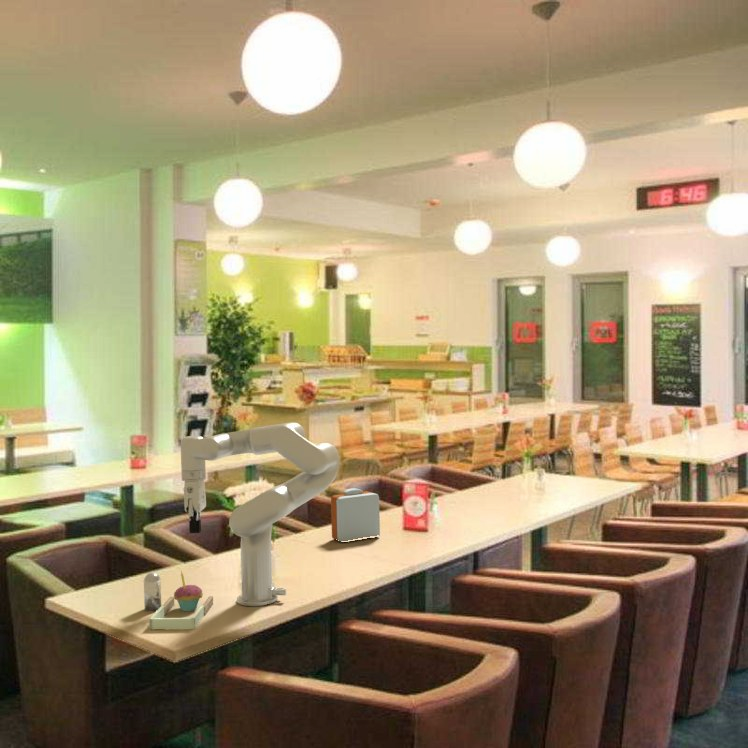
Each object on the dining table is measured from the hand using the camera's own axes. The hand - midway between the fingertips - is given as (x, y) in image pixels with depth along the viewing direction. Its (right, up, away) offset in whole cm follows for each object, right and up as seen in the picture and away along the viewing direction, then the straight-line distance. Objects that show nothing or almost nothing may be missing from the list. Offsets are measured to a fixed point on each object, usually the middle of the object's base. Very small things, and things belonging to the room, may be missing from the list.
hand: (195, 532), depth 265 cm
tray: (0, -22, -23) cm, 32 cm away
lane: (0, -22, -12) cm, 24 cm away
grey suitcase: (+50, -18, +77) cm, 94 cm away
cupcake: (0, -22, -10) cm, 24 cm away
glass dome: (-11, -22, -10) cm, 26 cm away
